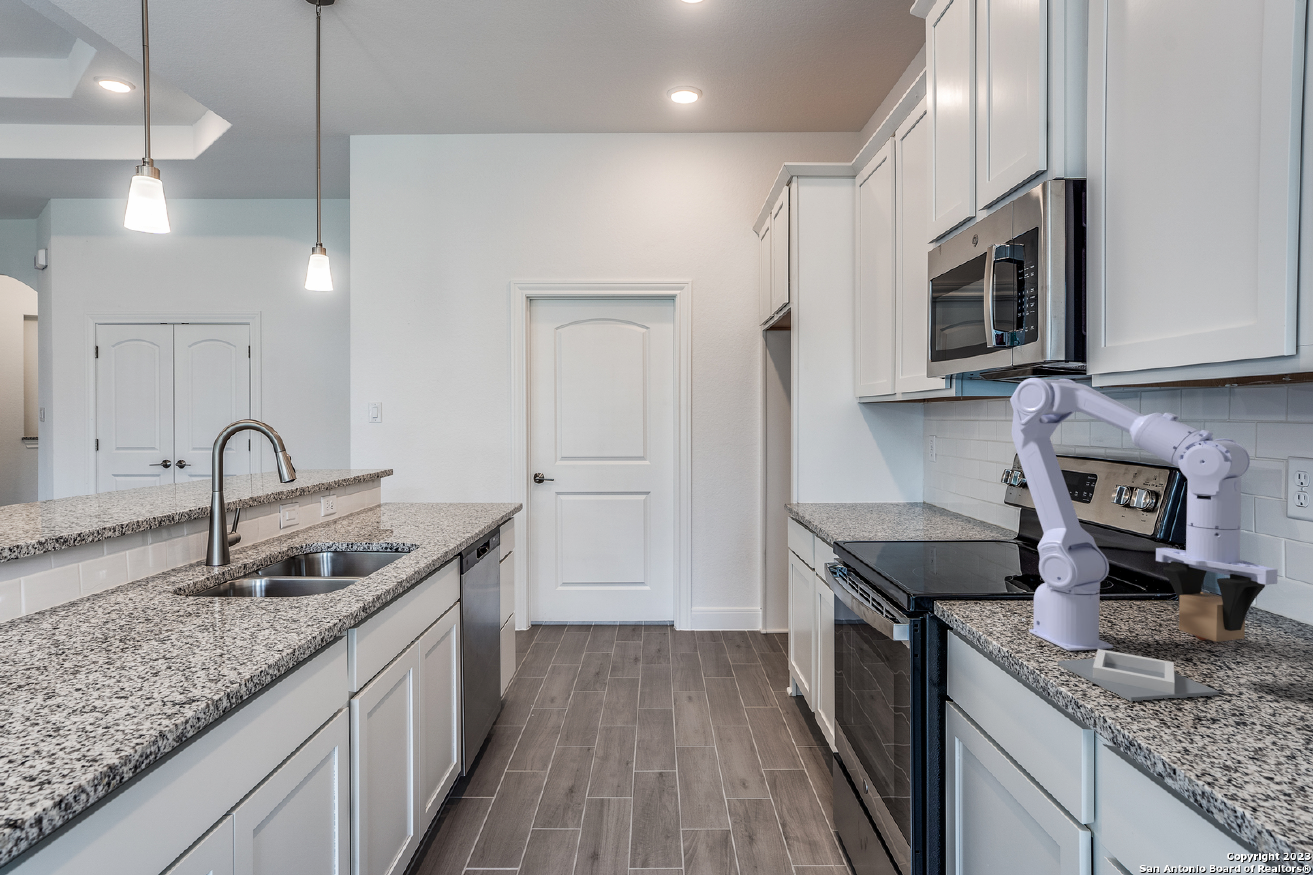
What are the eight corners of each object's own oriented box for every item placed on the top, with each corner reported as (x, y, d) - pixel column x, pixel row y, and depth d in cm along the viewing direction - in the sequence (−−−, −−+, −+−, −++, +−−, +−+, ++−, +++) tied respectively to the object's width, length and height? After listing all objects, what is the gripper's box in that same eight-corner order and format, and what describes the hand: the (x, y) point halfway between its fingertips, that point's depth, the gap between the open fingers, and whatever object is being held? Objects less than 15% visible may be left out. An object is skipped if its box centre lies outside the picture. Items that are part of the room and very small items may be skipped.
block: (1178, 629, 93) (1179, 595, 93) (1206, 627, 94) (1206, 592, 94) (1216, 641, 88) (1217, 605, 88) (1244, 638, 89) (1245, 602, 89)
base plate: (1057, 664, 98) (1058, 650, 98) (1135, 659, 100) (1135, 646, 100) (1130, 701, 86) (1131, 685, 86) (1218, 695, 87) (1218, 680, 87)
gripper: (1140, 519, 97) (1138, 610, 97) (1249, 537, 83) (1246, 643, 83) (1177, 517, 99) (1175, 606, 99) (1290, 534, 84) (1288, 638, 85)
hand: (1210, 623), depth 91 cm, fingers closed on block, 5 cm apart
